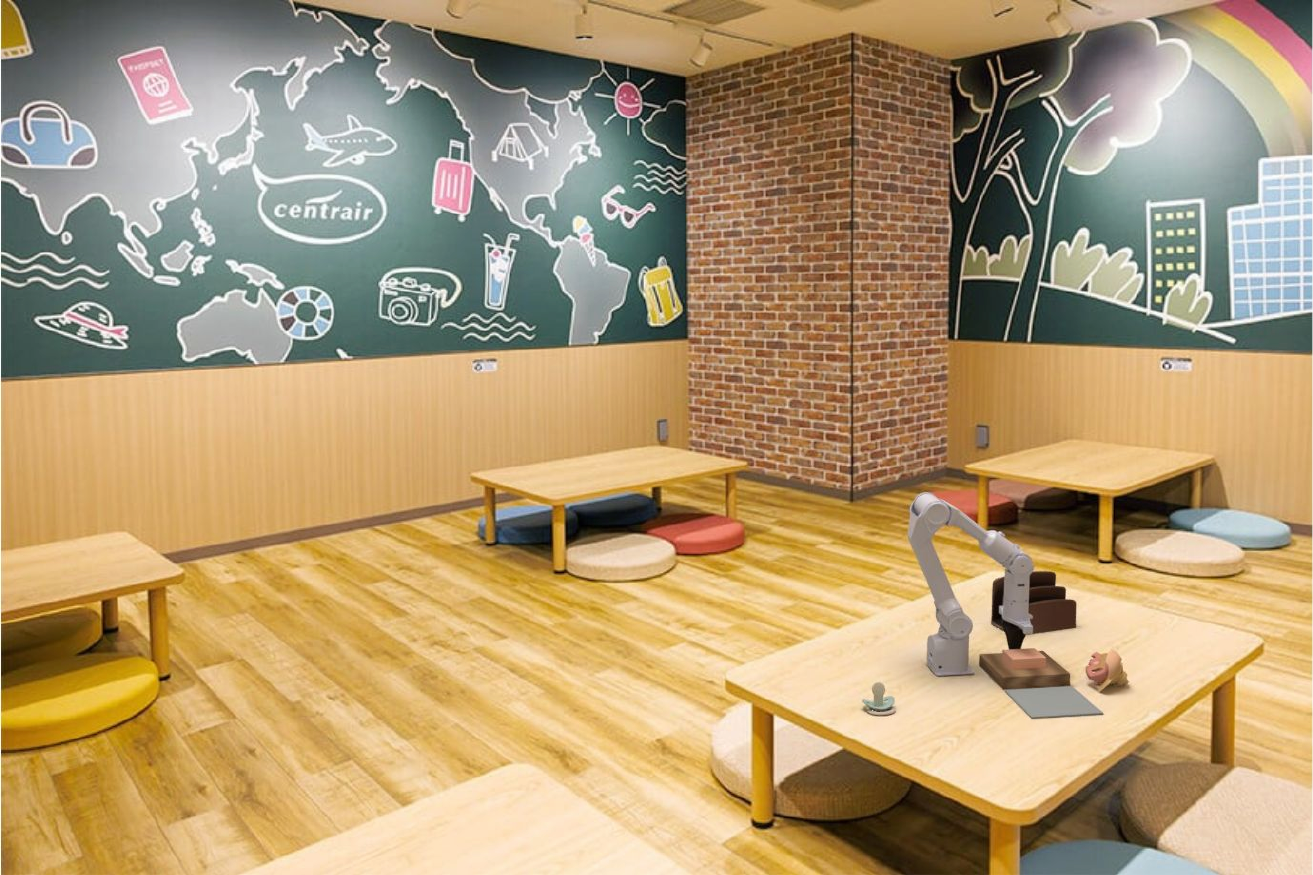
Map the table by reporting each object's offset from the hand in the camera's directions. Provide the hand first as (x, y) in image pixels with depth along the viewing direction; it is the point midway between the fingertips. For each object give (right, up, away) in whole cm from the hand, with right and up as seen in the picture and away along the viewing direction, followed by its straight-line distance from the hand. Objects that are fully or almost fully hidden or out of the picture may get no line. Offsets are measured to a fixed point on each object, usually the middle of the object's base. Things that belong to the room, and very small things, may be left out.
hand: (1014, 651), depth 238 cm
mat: (+1, -7, -19) cm, 21 cm away
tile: (0, -2, -5) cm, 5 cm away
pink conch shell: (+17, -6, -12) cm, 21 cm away
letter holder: (+15, +1, +27) cm, 31 cm away
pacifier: (-37, -9, -20) cm, 44 cm away
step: (0, -5, -4) cm, 7 cm away
